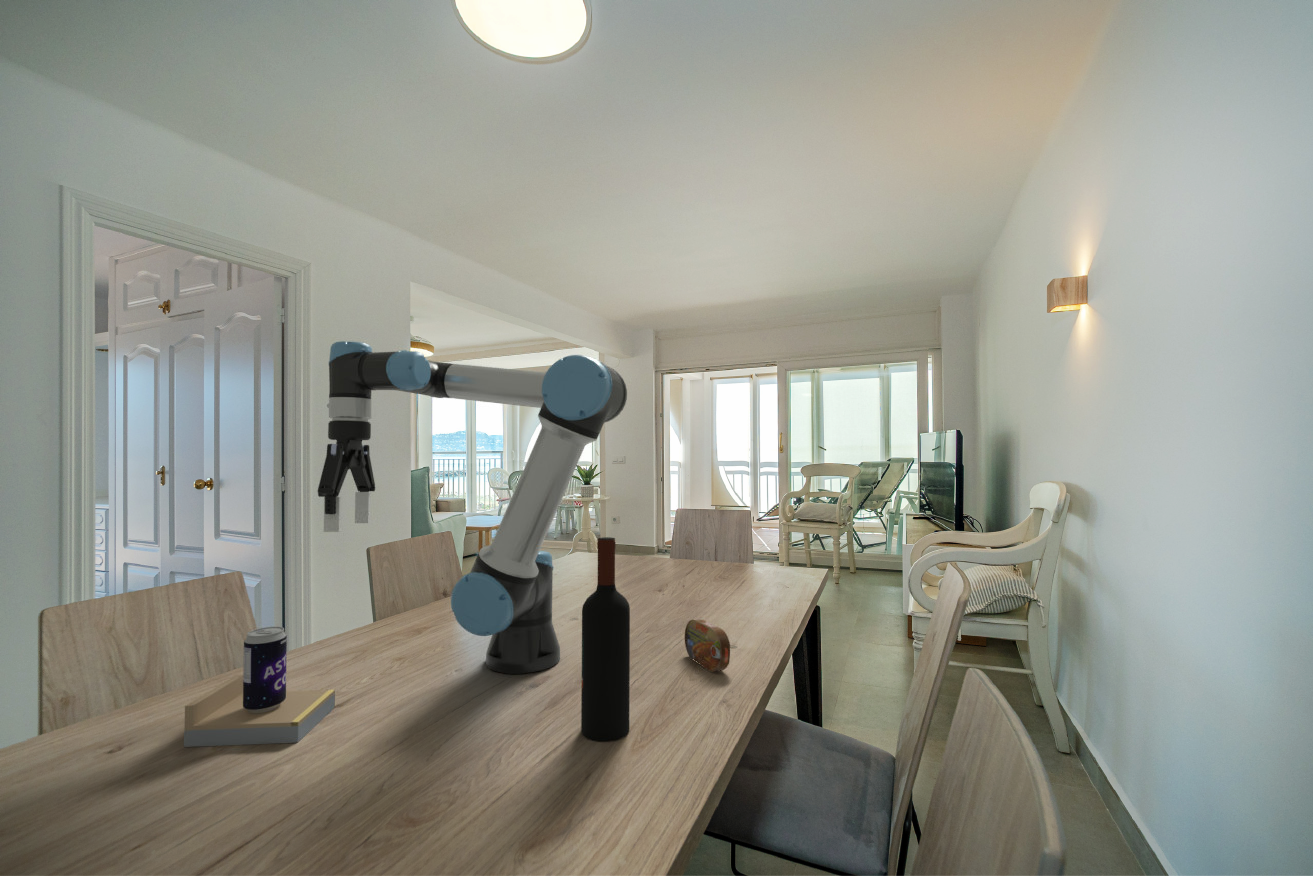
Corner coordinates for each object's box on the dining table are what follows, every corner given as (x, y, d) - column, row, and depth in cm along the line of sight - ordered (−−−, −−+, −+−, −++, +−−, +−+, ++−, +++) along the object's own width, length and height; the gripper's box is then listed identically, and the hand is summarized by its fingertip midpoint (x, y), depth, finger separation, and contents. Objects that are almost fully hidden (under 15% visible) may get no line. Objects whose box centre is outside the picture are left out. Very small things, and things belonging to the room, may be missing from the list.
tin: (683, 654, 126) (683, 615, 126) (696, 652, 128) (696, 613, 128) (719, 678, 113) (719, 634, 113) (733, 676, 114) (733, 632, 114)
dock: (334, 707, 99) (335, 672, 99) (297, 742, 87) (298, 702, 87) (235, 711, 98) (236, 675, 98) (184, 747, 86) (184, 705, 86)
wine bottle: (591, 746, 86) (592, 543, 87) (574, 725, 93) (575, 537, 94) (637, 735, 90) (638, 540, 91) (617, 715, 96) (618, 534, 97)
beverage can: (263, 716, 89) (264, 637, 89) (233, 713, 90) (234, 635, 90) (294, 701, 94) (295, 627, 95) (265, 698, 96) (266, 625, 96)
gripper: (356, 423, 128) (355, 520, 127) (297, 416, 103) (295, 536, 103) (392, 423, 129) (390, 519, 128) (341, 416, 104) (339, 535, 103)
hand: (348, 527), depth 115 cm, fingers open, 13 cm apart
